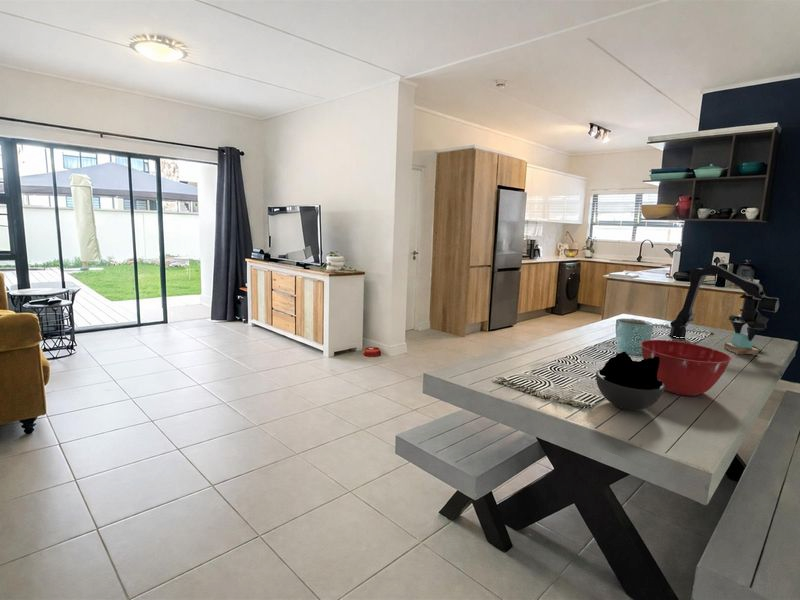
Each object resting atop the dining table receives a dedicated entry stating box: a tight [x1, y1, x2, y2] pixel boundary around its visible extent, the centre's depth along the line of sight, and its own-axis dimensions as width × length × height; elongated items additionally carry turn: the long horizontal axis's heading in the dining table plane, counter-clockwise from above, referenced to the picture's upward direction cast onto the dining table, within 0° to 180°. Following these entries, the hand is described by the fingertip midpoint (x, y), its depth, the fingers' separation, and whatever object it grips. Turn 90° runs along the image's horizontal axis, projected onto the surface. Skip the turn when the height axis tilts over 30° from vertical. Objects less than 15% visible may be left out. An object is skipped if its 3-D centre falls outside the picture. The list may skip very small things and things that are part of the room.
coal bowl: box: [595, 351, 665, 411], centre depth 142 cm, size 20×20×19 cm
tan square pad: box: [723, 342, 760, 356], centre depth 220 cm, size 10×10×3 cm
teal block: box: [731, 332, 755, 348], centre depth 220 cm, size 6×6×6 cm
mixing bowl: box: [640, 339, 733, 397], centre depth 162 cm, size 28×28×16 cm
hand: (743, 338), depth 219 cm, fingers open, 9 cm apart
